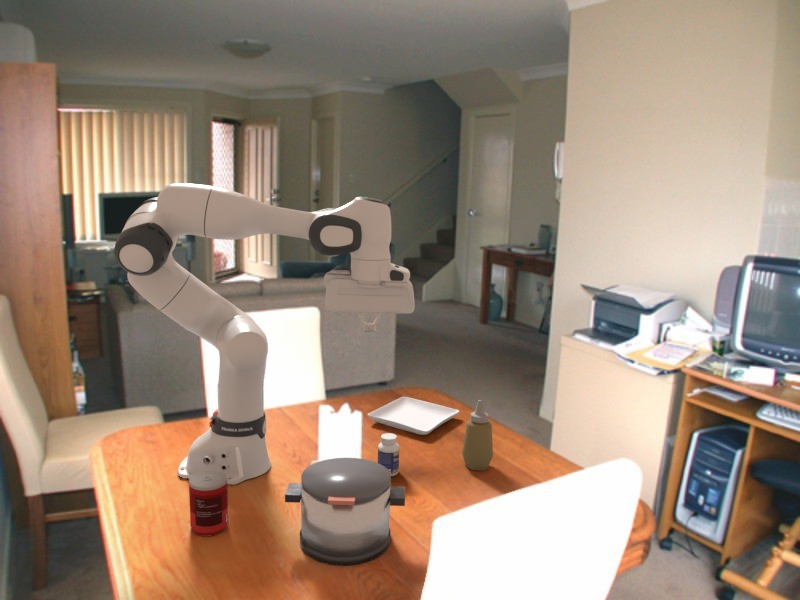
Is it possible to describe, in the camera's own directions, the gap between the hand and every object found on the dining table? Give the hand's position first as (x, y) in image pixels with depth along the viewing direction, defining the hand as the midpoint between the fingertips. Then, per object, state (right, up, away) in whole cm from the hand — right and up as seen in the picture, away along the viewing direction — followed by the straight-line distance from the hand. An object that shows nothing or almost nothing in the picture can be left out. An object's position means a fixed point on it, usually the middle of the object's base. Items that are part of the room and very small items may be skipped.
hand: (369, 331), depth 148 cm
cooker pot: (-4, -42, -13) cm, 44 cm away
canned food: (-33, -41, -10) cm, 54 cm away
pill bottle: (+4, -37, +18) cm, 41 cm away
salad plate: (+11, -31, +52) cm, 61 cm away
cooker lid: (-4, -30, -16) cm, 34 cm away
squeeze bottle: (+27, -37, +22) cm, 51 cm away
